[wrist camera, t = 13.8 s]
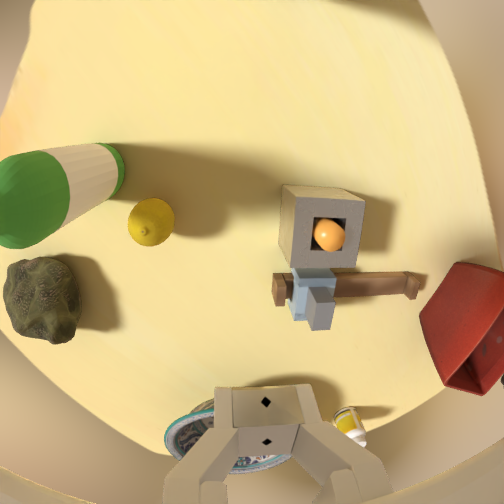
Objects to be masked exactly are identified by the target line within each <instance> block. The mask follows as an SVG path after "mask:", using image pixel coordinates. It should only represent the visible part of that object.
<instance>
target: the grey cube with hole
mask: <svg viewBox="0 0 504 504" xmlns="http://www.w3.org/2000/svg"><path fill="white" fill-rule="evenodd" d="M365 203H366V201H365V200H363V199H361V198H359V197H357V196H355V195H353V194H351V193H349V192H347V191H345V190H343V189H341V188H330V187H316V186H299V185H282V199H281V214H280V228H279V241H278V244H279V246H280V248H281V250H282V252H283V254H284V256H285V259H286V261H287V263H288V265H289V267H290V268H355V266H356V261H357V255H358V249H359V243H360V237H361V231H362V224H363V217H364V210H365ZM314 217H327V218H331V219H332V220H333V221H334V222H335V223H337V224H338V225H339V226H340V227H341V228H342V229H343V230H344V232H345V242H344V244H343V245H342V247H341V248H340V249H338V250H336V251H333V252H328V251H325V250H324V249H323V248H322V247H321V246H320V245H319V244H318V242H317V241H316V240H315V239H314V238H313V236H312V229H313V220H314Z"/></svg>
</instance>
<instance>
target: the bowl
mask: <svg viewBox="0 0 504 504" xmlns="http://www.w3.org/2000/svg"><path fill="white" fill-rule="evenodd" d="M209 428H214V398H213V399H211V400H208V401H206V402H204V403H202V404H200V405H198V406H197V407H196V408H195V409H193V410H192V411H191V412H190V413H189V414H188V415H185V416H183V417H181V418H179V419H177V420H176V421H174V422H173V423H172V424H171V425H170V426H169V427H168V428H167V430H166V432H165V436H164V442H165V445H166V448H167V449H168V451H169V452H170V453H171V454H172V455H173V456H174V457H175V458H176V459H178V460H179V461H180V460H181V459H182V458H183V457H184V456H185V455H186V454H187V453H188V451H189V450H190V449H191V448H192V447H193V446H194V445H195V444H196V442H197V441H198V440H199V439H200V438H201V437H202V436H203V434H204V433H205V432H206V431H207V430H208V429H209ZM291 457H292V456H291V454H283V455H264V456H251V457H238V460H237V461H236V463H235V464H234V466H233V467H232V469H231V471H230V472H229V474H245V473H253V472H258V471H262V470H266V469H269V468H272V467H275V466H277V465H279V464H282V463H284V462H285V461H287V460H289V459H290V458H291Z"/></svg>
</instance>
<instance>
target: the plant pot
mask: <svg viewBox="0 0 504 504" xmlns="http://www.w3.org/2000/svg"><path fill="white" fill-rule="evenodd" d="M419 318H420V323H421V327H422V331H423V334H424V338H425V341H426V344H427V347H428V349H429V352H430V355H431V357H432V360H433V362H434V365H435V367H436V369H437V372H438V374H439V376H440V378H441V380H442V382H443V384H444V386H446V387H450V388H454V389H457V390H461V391H465V392H469V393H472V394H476V395H479V396H483V395H485V394H486V393H487V392H488V391H489V390H490V389H491V387H492V386H493V385H494V384H495V383H496V382H497V380H498V379H499V378H500V377H501V376H502V374H503V373H504V272H502V271H499V270H496V269H493V268H489V267H486V266H481V265H477V264H471V263H464V262H456V263H455V264H454V265H453V266H452V268H451V269H450V271H449V272H448V274H447V275H446V277H445V278H444V280H443V281H442V283H441V284H440V286H439V287H438V289H437V290H436V292H435V293H434V294H433V296H432V297H431V299H430V300H429V301H428V303H427V304H426V306H425V307H424V308H423V310H422V311H421V312H420V315H419Z"/></svg>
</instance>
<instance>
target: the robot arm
mask: <svg viewBox="0 0 504 504" xmlns="http://www.w3.org/2000/svg"><path fill="white" fill-rule="evenodd" d="M283 454H291V456H292V457H293V458H294V459H295V460H296V461H297V462H298V463H299V464H300V465H301V466H302V467H303V468H304V469H305V470H306V471H307V472H308V473H309V474H310V475H311V476H312V477H313V478H314V479H315V480H316V481H317V482H318V483H319V484H320V485H321V486H322V489H321V490H320V492H319V493H318V495H317V496H316V498H315V499H314V500H313V502H312V504H504V438H502V439H501V440H499V441H498V442H496V443H495V444H493V445H492V446H490V447H488V448H487V449H485V450H483V451H482V452H480V453H478V454H477V455H475V456H473V457H471V458H470V459H468V460H466V461H464V462H462V463H460V464H459V465H457V466H455V467H453V468H451V469H449V470H447V471H445V472H442V473H440V474H438V475H436V476H434V477H432V478H429V479H427V480H425V481H422V482H420V483H418V484H415V485H413V486H410V487H407V488H405V489H402V490H400V491H397V492H394V491H393V489H392V486H391V484H390V481H389V479H388V476H387V474H386V471H385V469H384V466H383V464H382V461H381V460H380V459H379V458H378V457H376V456H375V455H373V454H372V453H371V452H369V451H368V450H366V449H365V448H363V447H362V446H361V445H359V444H358V443H356V442H355V441H354V440H352V439H351V438H349V437H348V436H347V435H345V434H344V433H343V432H341V431H340V430H339V429H337V428H336V427H335V426H333V425H332V424H331V423H329V422H328V421H323V420H322V417H321V414H320V411H319V408H318V405H317V402H316V399H315V396H314V393H313V390H312V386H311V385H310V384H309V383H307V384H296V385H281V386H264V387H232V390H231V387H215V390H214V428H209V429H208V430H207V431H206V432H205V433H204V434H203V436H202V437H201V438H200V439H199V440H198V441H197V442H196V444H195V445H194V446H193V447H192V448H191V449H190V450H189V451H188V453H187V454H186V455H185V456H184V457H183V458H182V459H181V460H180V462H178V464H177V465H176V466H175V467H174V468H173V469H172V470H171V471H170V472H169V473H168V474H167V475H166V477H165V481H164V491H163V502H162V504H228V498H227V485H225V484H224V483H222V482H223V481H224V480H225V478H226V476H227V475H228V474H229V472H230V471H231V469H232V467H233V466H234V464H235V463H236V461H237V460H238V457H251V456H264V455H283ZM0 504H96V503H92V502H88V501H85V500H82V499H79V498H75V497H72V496H69V495H66V494H63V493H61V492H58V491H55V490H53V489H50V488H47V487H45V486H43V485H40V484H38V483H35V482H33V481H31V480H28V479H26V478H24V477H22V476H20V475H17V474H15V473H13V472H12V471H9V470H8V469H5V468H4V467H2V466H0Z"/></svg>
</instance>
